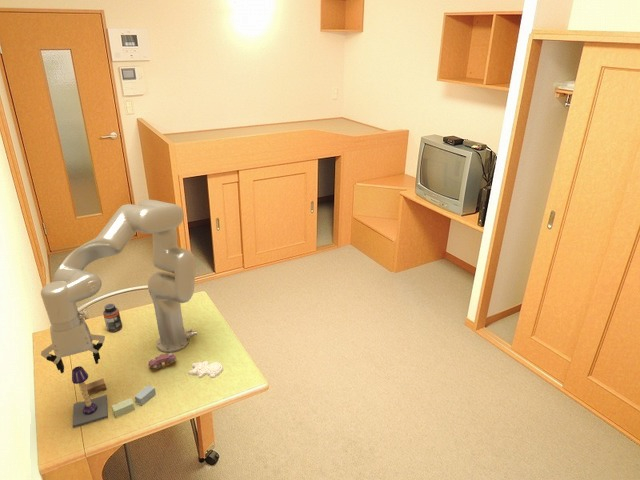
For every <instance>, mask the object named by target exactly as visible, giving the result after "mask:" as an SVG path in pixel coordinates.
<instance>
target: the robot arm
mask: <svg viewBox="0 0 640 480" xmlns="http://www.w3.org/2000/svg"><path fill="white" fill-rule="evenodd" d="M184 213H185V212H184V211H183V208H182V207H180V206H179V205H178V204H175V203H171V202H166V201H161V200H156V199H143V200H140V201H139V202H138V204H133V203H132V204H131V203H127V204H123V205H121V206H120V207H118V209H117V210H116V211H115V213H114V214H113V215H112V216H111V218H110V219H109V221H108V222H107V224H105V226H104V227H103V228H102V230H101V231H100V232H99V234H98V235H97V236H96V237H95V238H93V239H90V240H89V241H87V242H85V243H84V244H82V245H80V246H78V247H77V248H75V249H74V250H73V251H71V252H70V253H69V254H68V255H67V256H66V257H65V259H63V261H62V262H61V264H60V265H59V266H58V268H57V269H56V270H55V273H54V275H53V281H51V282H49V283H47V284H45V285H44V286H43V287H42V289H41V290H40V295H41V296H40V297H41V299H42V302H43V304H44V305H43V306H44V308H45V311H46V314H47V316H48V320H49V324H50V327H49V330H50V332H49V333H50V340H51V344H50V345H49V346H47V347H46V348H44V349H43V350H41V352H40V356H42V358H44V359H46V360H47V361H49V362H52V363H53V364H54V365H55V366H56V369H57V370H58V371H60V374H64V373H65V365H64V362H63V360H62V359H63V358H65V357H69V356H73V355H76V354H81V353H83V352H89V351H90V352H92V355H93V356H92V357H93V360H94V362H95V365H98V364H99V360H101V355H100V353H99V351H100V350H101V349H102V347H103V346H104V342H105V338H106V337H105V335H103V334H102V335H101V334H100V335H99V334H93V333H91V330H90V329H89V327H88V325H87V322H86V320H85V318H86V314H85V312H84V313H80V311H79V310H78V307H77V303H78V302H81V301H84V300H86V299H88V298H91V297H93V296H95V295H96V294H97V293H99V291H100V290H101V288H102V282H103V281H102V280H101V278H100V276H99V275H97V274H95V273H93V272H89V271H86V270H84V269H85V268H86V267H87V266H89V265H90V264H91V263H93V262H95V261H97V260H100V259H105V258H108V257H112V256H116V255H119V254H121V253H122V251H124V249H125V247H126V246H127V245H128V243H129V242H130V241H131V239H132V238H133V236H134V235H135V234H136V233H137V232H138V233H142V234H147V235H149V234H150V235H152V264H153V266H154V267H155V268H156V269H158V270H161V271H158V272H157V271H156V272H155V273H153V274H152V275H150V277H149V278H148V281H147V290H148V293H149V296H150V298H151V301H152V303H153V307H154V311H155V319H156V325H157V330H158V335H159V336H158V339H157V340H156V348H157V349H158V351H161V352H163V353H176V352H179V351H181V350H184V349H185V348H186V347H187V346H188V345H189V343H190V337H195V336H198V334H197V333H198V332H197V330H194V329H193V328H189V329H185V326H184V320H183V313H182V306H181V304H185V303H187V302H190V300H191V299H192V297H193V296H194V291H195V285H196V283H195V280H196V259H195V256H194V254H193V252H192V251H191V250H188V249H186V248H182V247H180V246H179V245H178V232H177V228H178V227H179V226H180V225H181V224H182V223H183V221H184V217H185V214H184ZM94 341H98V342H97V343H94ZM52 351H53V352H54V354H52V353H51V352H52Z"/></svg>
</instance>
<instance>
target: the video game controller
mask: <svg viewBox="0 0 640 480" xmlns="http://www.w3.org/2000/svg"><path fill="white" fill-rule="evenodd" d="M176 360H177V356H176V354H175V353H174V352H168V353H161V354H159V355H157V356H155V357H152V358H151V359H150V360H149V361H148V364H147V365H148V367H149V368H150V369H161V368H162V367H163V363H164V366H165V367H166V366H170V365H171V364H172V363H174V362H175V361H176Z"/></svg>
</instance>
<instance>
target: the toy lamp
mask: <svg viewBox="0 0 640 480" xmlns="http://www.w3.org/2000/svg"><path fill="white" fill-rule="evenodd" d="M88 379H89V374H88V372H87V371H86V370H85V368H84V367H83V366H82V365H81V366H79V365H78V366H76V367H74V368H72V371H71V381H72V383H73V384H75V385H79V388H80V391H81V395H82V398H83V401H85V403H86V406H85V407H84V408H83V413H84V414H86V415H88V414H92V413H94V412H95V411H96V410H97V405H96V404H94V403H91V401H90V399H91V398H90V396H89V394H88V391H87V388H86V386H85V385H86V383H85V382H86V381H87V380H88Z"/></svg>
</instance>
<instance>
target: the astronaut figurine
mask: <svg viewBox="0 0 640 480" xmlns="http://www.w3.org/2000/svg"><path fill="white" fill-rule="evenodd" d="M191 366H192V369H190V370H189V371H188V374H189V375H191V376H198V378H199V379H202V378H203V377H204V376H205V375H207V376H209V378H211V379H212V378H216V377H218V376H219V375H221V374H222V373H223V371H224V367H223V365H222V364H221V363H220V362H219V361H214V362H211V363H209V361H208V360H204V361H202V362H201V361H200V362H194V363H192V365H191Z"/></svg>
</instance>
